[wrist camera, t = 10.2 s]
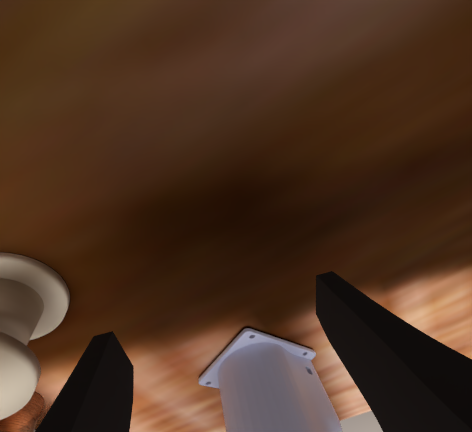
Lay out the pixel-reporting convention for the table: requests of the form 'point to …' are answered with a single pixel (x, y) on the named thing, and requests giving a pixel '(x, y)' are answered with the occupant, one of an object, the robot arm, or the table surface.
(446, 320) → the table surface
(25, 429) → the copper peg
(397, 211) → the table surface
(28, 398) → the bobbin
